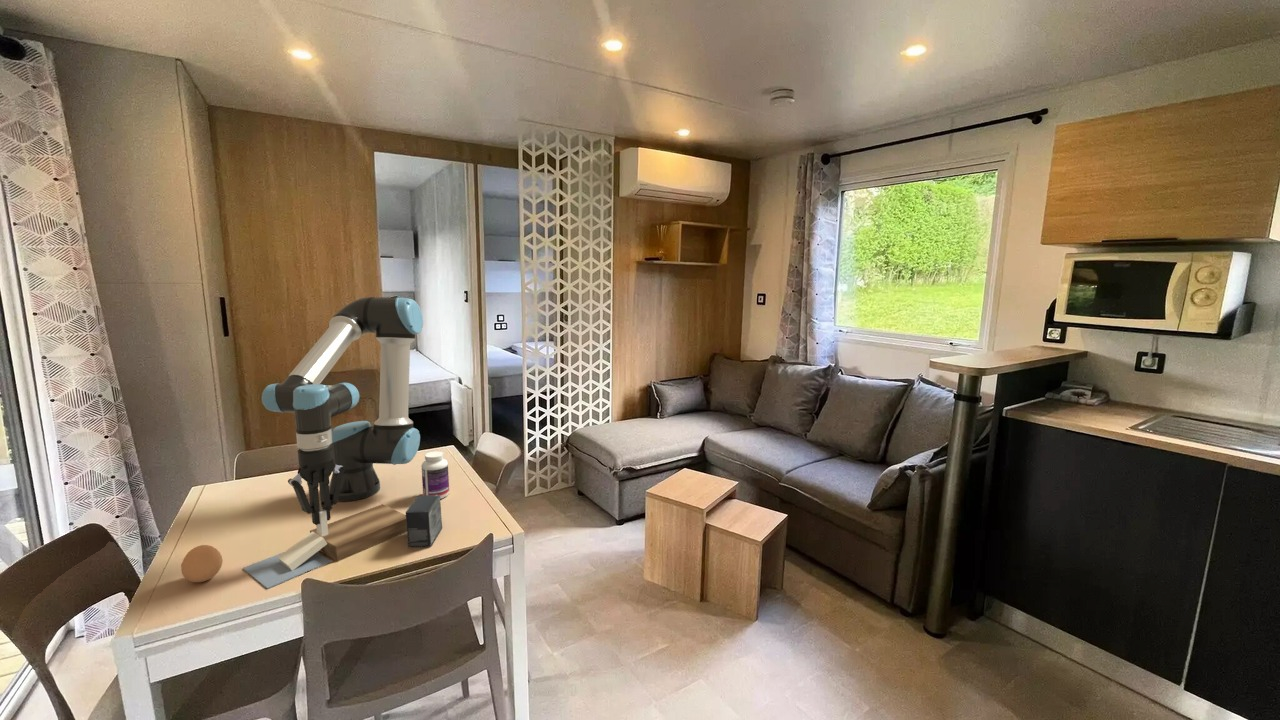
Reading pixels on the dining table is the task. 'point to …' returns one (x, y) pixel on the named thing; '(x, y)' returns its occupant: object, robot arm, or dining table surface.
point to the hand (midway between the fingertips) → (322, 533)
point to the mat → (282, 569)
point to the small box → (423, 521)
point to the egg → (201, 563)
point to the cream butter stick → (302, 550)
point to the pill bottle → (435, 475)
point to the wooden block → (362, 531)
